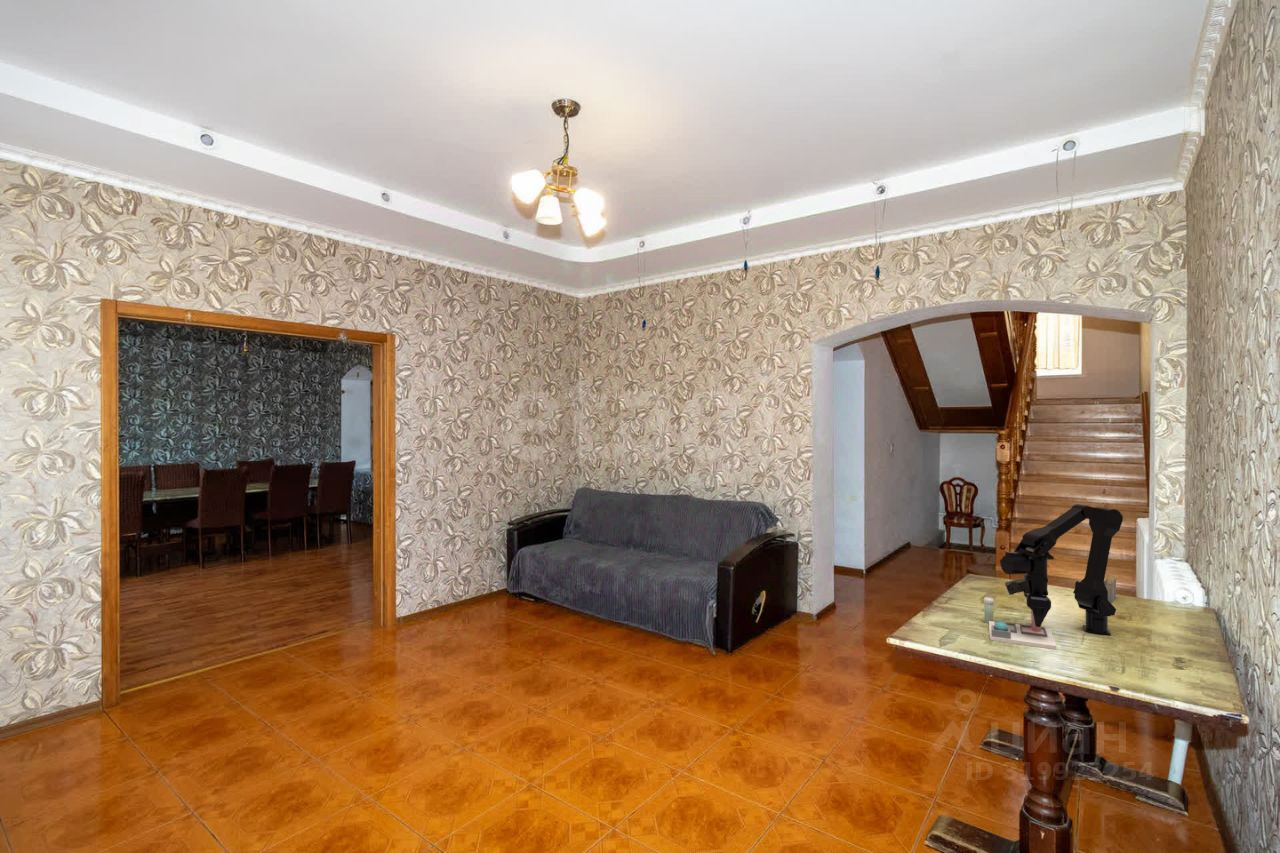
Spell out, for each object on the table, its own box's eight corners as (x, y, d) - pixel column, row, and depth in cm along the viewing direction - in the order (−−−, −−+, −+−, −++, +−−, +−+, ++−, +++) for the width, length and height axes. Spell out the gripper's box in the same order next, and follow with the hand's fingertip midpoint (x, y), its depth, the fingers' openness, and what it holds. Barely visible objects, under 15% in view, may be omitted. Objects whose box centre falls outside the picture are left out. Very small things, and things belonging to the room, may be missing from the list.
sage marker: (984, 620, 208) (984, 596, 208) (993, 621, 206) (993, 597, 206) (984, 622, 205) (984, 598, 205) (993, 624, 204) (993, 599, 204)
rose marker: (1040, 629, 195) (1040, 604, 195) (1041, 632, 193) (1041, 606, 193) (1030, 628, 196) (1030, 603, 196) (1031, 631, 194) (1031, 605, 194)
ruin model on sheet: (1106, 597, 237) (1106, 571, 237) (1116, 598, 235) (1116, 573, 235) (1100, 603, 229) (1100, 576, 229) (1110, 604, 227) (1110, 578, 227)
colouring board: (988, 624, 204) (988, 614, 204) (1050, 632, 196) (1050, 622, 196) (989, 639, 189) (989, 630, 189) (1056, 649, 181) (1056, 639, 181)
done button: (995, 628, 192) (995, 621, 192) (1006, 630, 191) (1006, 622, 191) (995, 631, 190) (995, 623, 190) (1006, 633, 188) (1006, 625, 188)
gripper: (1005, 564, 206) (1005, 611, 206) (1008, 576, 190) (1008, 627, 190) (1045, 568, 201) (1045, 615, 201) (1051, 580, 185) (1051, 633, 185)
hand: (1036, 622), depth 194 cm, fingers open, 9 cm apart
